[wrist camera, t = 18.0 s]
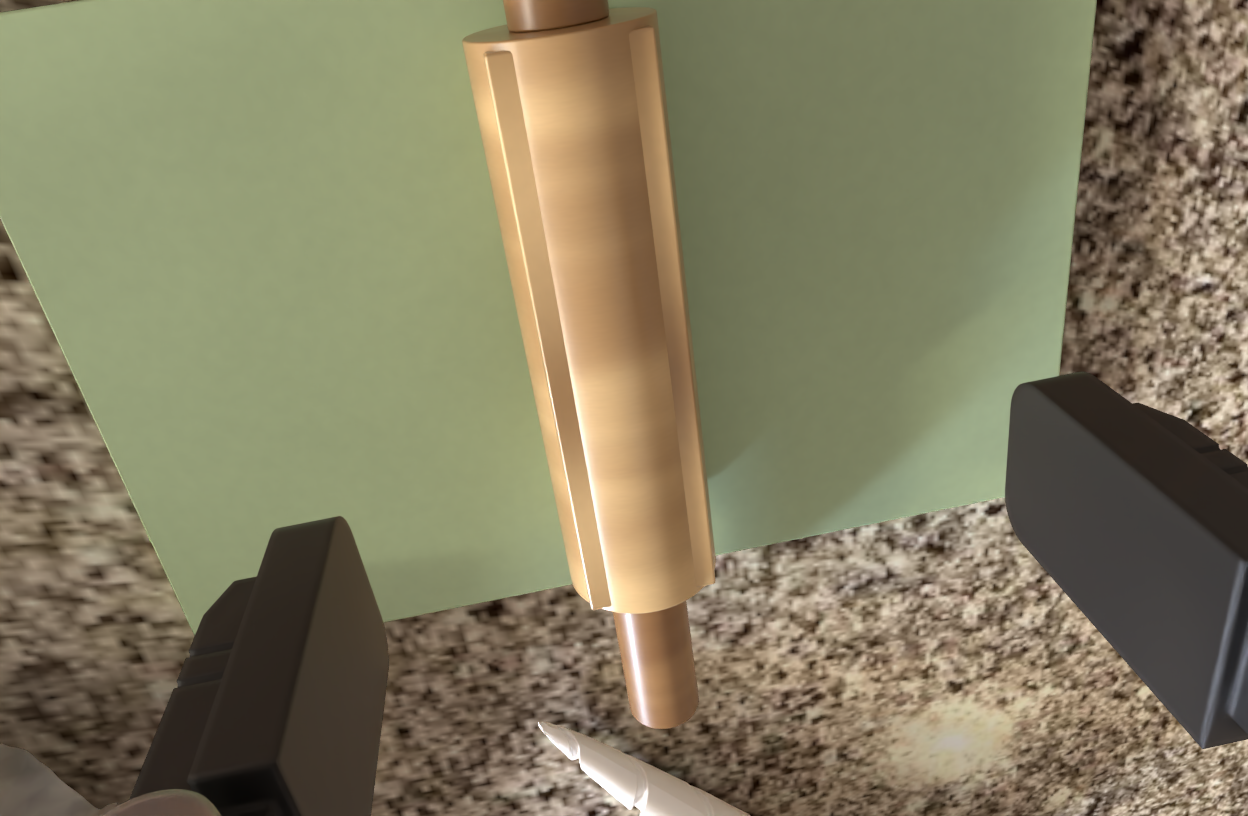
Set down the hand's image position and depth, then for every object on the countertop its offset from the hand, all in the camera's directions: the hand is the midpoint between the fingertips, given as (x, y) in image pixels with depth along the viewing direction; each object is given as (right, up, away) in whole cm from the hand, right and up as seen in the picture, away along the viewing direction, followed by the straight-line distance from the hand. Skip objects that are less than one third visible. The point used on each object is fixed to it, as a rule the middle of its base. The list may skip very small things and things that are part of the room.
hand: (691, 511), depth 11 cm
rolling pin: (-2, +4, +16) cm, 17 cm away
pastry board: (-2, +5, +17) cm, 18 cm away
